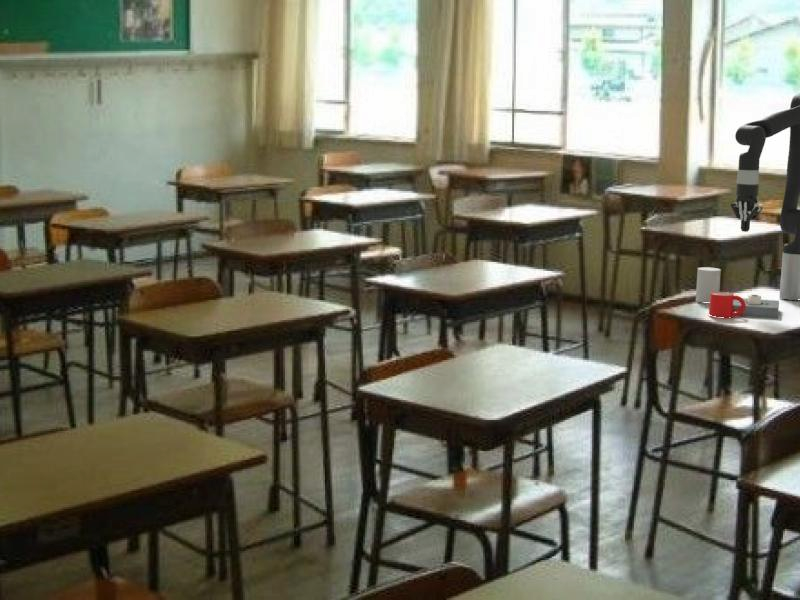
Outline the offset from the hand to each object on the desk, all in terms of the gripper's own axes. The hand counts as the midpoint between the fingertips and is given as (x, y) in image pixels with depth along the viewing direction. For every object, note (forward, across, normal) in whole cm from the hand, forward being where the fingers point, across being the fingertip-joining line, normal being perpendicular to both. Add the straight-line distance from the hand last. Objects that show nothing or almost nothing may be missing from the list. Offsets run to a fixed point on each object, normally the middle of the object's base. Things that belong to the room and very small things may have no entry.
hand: (744, 231), depth 465 cm
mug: (+27, -13, +22) cm, 37 cm away
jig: (+27, -13, +7) cm, 30 cm away
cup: (+27, +11, +5) cm, 30 cm away
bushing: (+27, -13, +7) cm, 30 cm away
